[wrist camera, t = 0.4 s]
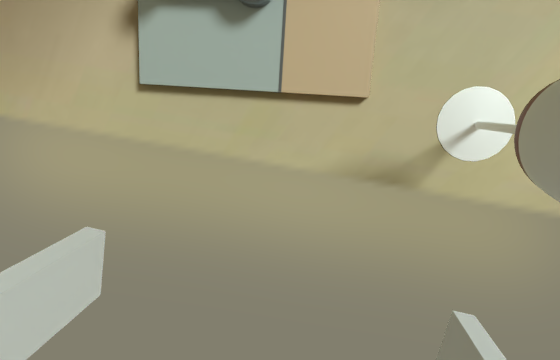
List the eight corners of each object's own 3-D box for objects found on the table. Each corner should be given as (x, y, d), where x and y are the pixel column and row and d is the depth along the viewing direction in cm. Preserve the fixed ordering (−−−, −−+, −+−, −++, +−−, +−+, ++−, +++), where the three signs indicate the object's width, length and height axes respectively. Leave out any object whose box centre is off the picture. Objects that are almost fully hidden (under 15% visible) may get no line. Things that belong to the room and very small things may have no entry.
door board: (142, -81, 35) (136, -88, 34) (387, -78, 33) (389, -85, 32) (145, 84, 39) (139, 83, 38) (367, 97, 37) (369, 97, 35)
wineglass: (434, 169, 37) (560, 238, 18) (434, 84, 36) (571, 58, 16) (515, 163, 36) (742, 230, 17) (519, 76, 35) (774, 37, 15)
